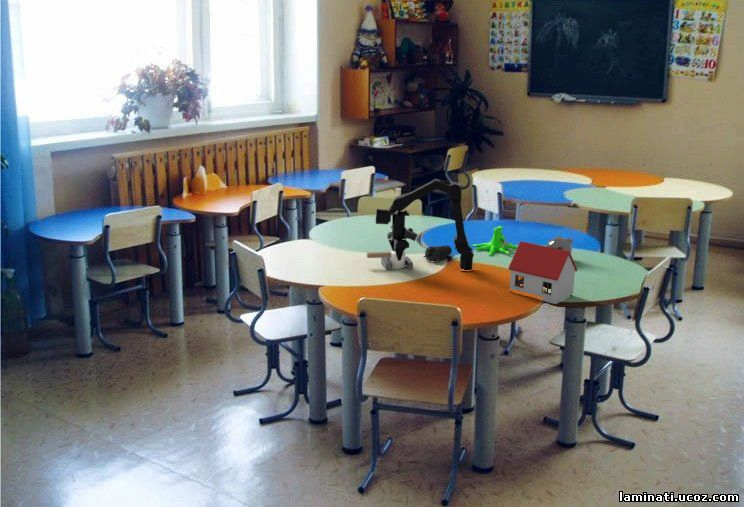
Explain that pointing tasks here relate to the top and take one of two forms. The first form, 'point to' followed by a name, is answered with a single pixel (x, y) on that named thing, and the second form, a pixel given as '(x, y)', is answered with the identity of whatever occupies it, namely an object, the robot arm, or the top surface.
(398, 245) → the robot arm
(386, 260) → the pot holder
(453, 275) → the top surface
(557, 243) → the piggy bank
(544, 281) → the house model
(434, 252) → the drinking cup
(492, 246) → the toy octopus
